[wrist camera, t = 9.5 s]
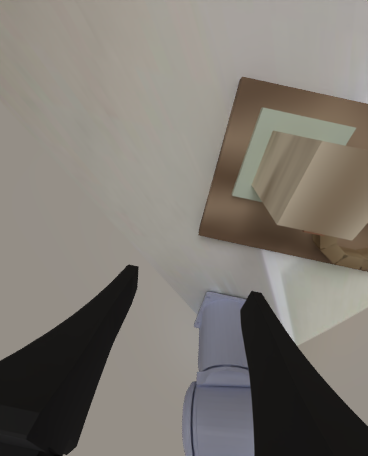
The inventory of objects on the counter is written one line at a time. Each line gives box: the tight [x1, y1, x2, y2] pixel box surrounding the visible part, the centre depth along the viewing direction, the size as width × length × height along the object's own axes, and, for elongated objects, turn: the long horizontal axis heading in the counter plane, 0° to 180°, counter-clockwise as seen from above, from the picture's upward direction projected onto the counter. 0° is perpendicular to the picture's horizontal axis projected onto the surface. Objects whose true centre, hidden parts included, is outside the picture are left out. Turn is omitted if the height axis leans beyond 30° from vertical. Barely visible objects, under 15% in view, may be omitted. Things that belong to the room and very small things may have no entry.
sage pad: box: [232, 108, 356, 202], centre depth 15 cm, size 7×7×1 cm
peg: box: [252, 131, 368, 240], centre depth 12 cm, size 4×4×7 cm
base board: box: [199, 77, 368, 272], centre depth 16 cm, size 14×21×3 cm, turn 79°
